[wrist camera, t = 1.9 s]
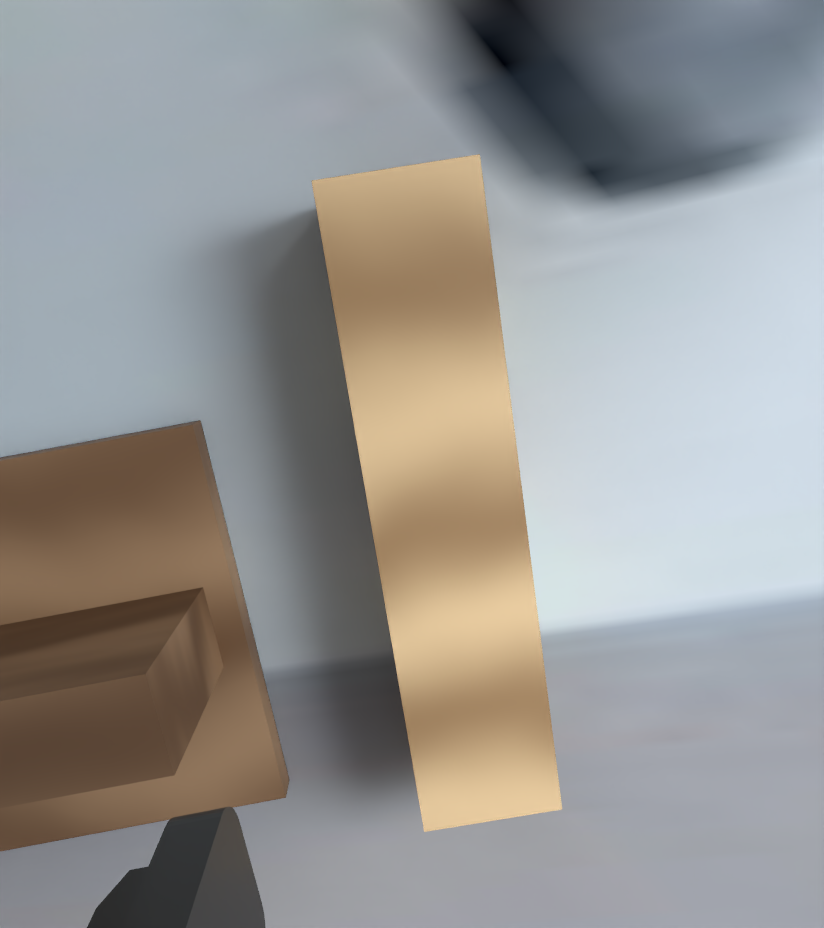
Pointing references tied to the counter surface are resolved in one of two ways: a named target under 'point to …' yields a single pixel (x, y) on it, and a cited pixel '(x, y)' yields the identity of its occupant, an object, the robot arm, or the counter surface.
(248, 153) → the counter surface
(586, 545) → the counter surface
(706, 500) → the counter surface
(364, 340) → the oak batten
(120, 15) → the counter surface
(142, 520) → the ridge stand
